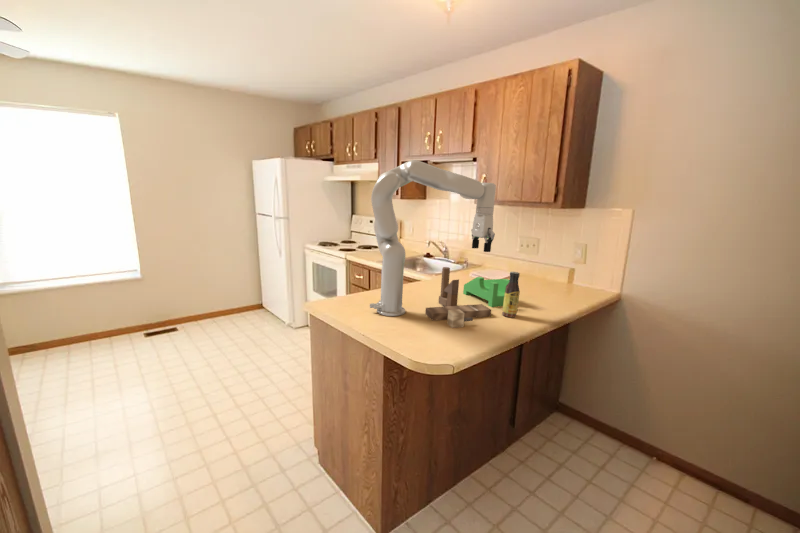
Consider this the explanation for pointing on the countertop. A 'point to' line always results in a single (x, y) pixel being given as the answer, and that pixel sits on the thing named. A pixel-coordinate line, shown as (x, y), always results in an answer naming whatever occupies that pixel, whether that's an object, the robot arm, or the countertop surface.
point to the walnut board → (468, 310)
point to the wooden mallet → (448, 289)
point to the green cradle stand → (487, 290)
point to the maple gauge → (456, 318)
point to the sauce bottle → (511, 296)
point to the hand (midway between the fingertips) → (480, 250)
